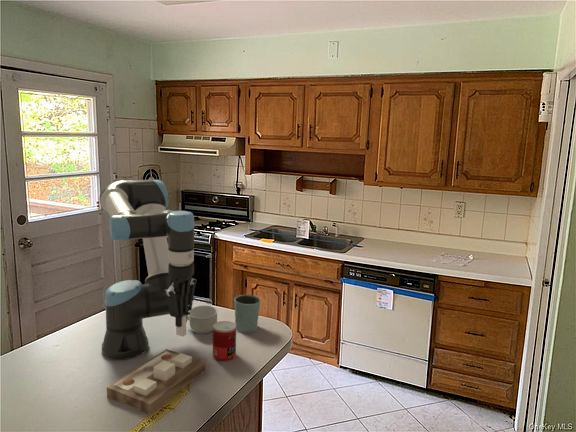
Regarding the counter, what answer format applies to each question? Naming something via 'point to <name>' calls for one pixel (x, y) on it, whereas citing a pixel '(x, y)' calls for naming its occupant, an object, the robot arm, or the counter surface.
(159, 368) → the button middle
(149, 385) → the button
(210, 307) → the teacup
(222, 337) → the canned food
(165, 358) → the button board
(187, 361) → the button
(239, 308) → the blue-green cup
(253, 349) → the counter surface
